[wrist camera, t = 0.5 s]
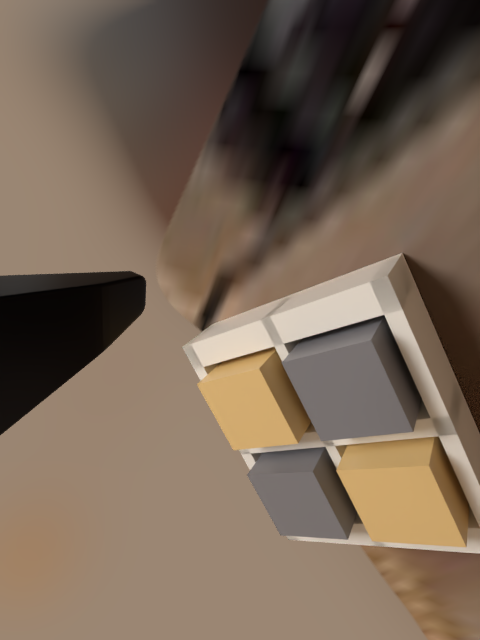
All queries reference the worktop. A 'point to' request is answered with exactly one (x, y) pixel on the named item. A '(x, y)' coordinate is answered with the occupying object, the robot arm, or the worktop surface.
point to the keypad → (417, 350)
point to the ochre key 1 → (255, 401)
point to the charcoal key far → (303, 493)
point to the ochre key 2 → (406, 492)
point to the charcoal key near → (354, 381)
